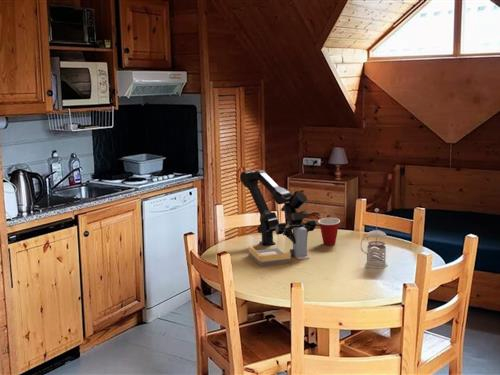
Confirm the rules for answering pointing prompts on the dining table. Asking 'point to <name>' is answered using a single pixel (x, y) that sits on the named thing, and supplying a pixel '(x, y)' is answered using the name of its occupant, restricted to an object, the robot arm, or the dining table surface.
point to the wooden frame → (269, 256)
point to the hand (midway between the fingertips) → (300, 242)
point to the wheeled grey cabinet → (300, 243)
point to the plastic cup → (329, 230)
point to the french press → (375, 249)
